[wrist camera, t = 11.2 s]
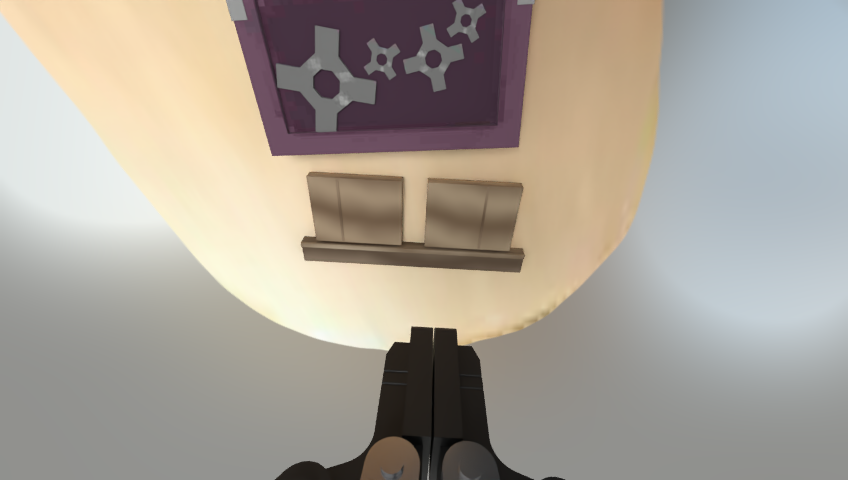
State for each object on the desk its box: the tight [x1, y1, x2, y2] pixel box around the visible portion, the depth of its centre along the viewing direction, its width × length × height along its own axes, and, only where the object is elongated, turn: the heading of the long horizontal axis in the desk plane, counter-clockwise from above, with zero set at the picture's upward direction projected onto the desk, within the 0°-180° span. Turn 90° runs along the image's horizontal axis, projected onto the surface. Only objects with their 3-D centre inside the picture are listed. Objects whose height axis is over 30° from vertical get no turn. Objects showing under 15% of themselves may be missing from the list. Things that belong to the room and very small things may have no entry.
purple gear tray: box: [226, 0, 535, 156], centre depth 33 cm, size 25×16×5 cm, turn 93°
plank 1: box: [306, 172, 403, 245], centre depth 43 cm, size 9×11×1 cm
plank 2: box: [424, 178, 523, 251], centre depth 43 cm, size 9×11×1 cm
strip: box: [301, 236, 525, 272], centre depth 47 cm, size 3×29×2 cm, turn 87°
